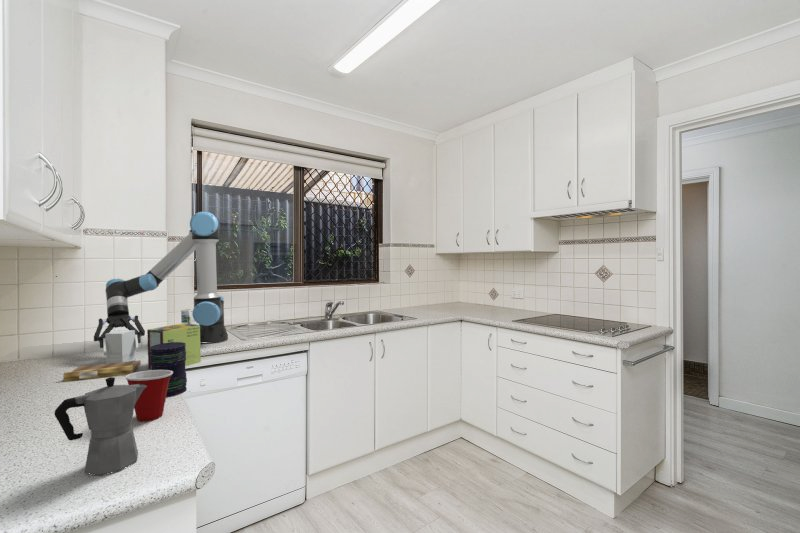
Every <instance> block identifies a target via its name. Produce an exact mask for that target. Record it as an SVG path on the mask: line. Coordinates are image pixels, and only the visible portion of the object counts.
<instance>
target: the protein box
mask: <svg viewBox="0 0 800 533" xmlns="http://www.w3.org/2000/svg"><path fill="white" fill-rule="evenodd" d="M146 331H147V332H146V333H147V363H148V364H147V366H148V367H147V369H148V370H152V366H151V364H150V362H151V360H150V352H151V351H150V347H151V346H154V345H157V344H163V343H171V342H183V343H185V344H186V346H185V348H186V361H185V367H187V366H191V365H196V364H200V363H201V362H202V360H201V359H202V358H201V353H202V352H201V343H200V325H199V324H197V325H196V324H187V323H182V324H181V323H177V324H172V325H165V326H159V327H154V328H148V329H147V330H146Z"/></svg>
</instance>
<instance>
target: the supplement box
mask: <svg viewBox="0 0 800 533" xmlns="http://www.w3.org/2000/svg"><path fill="white" fill-rule="evenodd" d="M105 338H106V355H105V357H106V359H105V360H106V363H105V364H109V363H119V362H129V361H137V357H136V356H137V354H136V352H137V351H136V347H135V330H128V329H127V330H125V329H124V330H123V329H120V330H115V331H110V333H106V334H105Z"/></svg>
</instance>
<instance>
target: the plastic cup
mask: <svg viewBox="0 0 800 533" xmlns="http://www.w3.org/2000/svg"><path fill="white" fill-rule="evenodd" d="M172 374H173V371H170V370H152V369H148V370H141V371H135V372H134V373H131V374H128V375H124V376H125V377H124V378H125V380H126V381H127V385H135V384H144V385H146V386H147V387H146V388H145V389H144V390H143V392H142V393H141V395H140V396H139V398H138V400H137V402H136V403H135V405H134V413H135V417H136V419H137V421H138V422H143V421H144V422H150V421H149V420H151V421H154V419H155V420H158V419H159V417H160V418H161V417H162V416H163V414H164V410H165V404H166V399H167V397H166V395H167V389H168V383H169V380H170V377H171V375H172Z"/></svg>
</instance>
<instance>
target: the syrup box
mask: <svg viewBox="0 0 800 533" xmlns="http://www.w3.org/2000/svg"><path fill="white" fill-rule="evenodd" d="M193 309H194V308H183V309H181V310H180V316H181V317H180V318H181V319H180V320H181V322H180V324H182V323H187V324H196V325H198V323H197V322H196V321H195V320H194V318H193V314H192V313H193Z"/></svg>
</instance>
